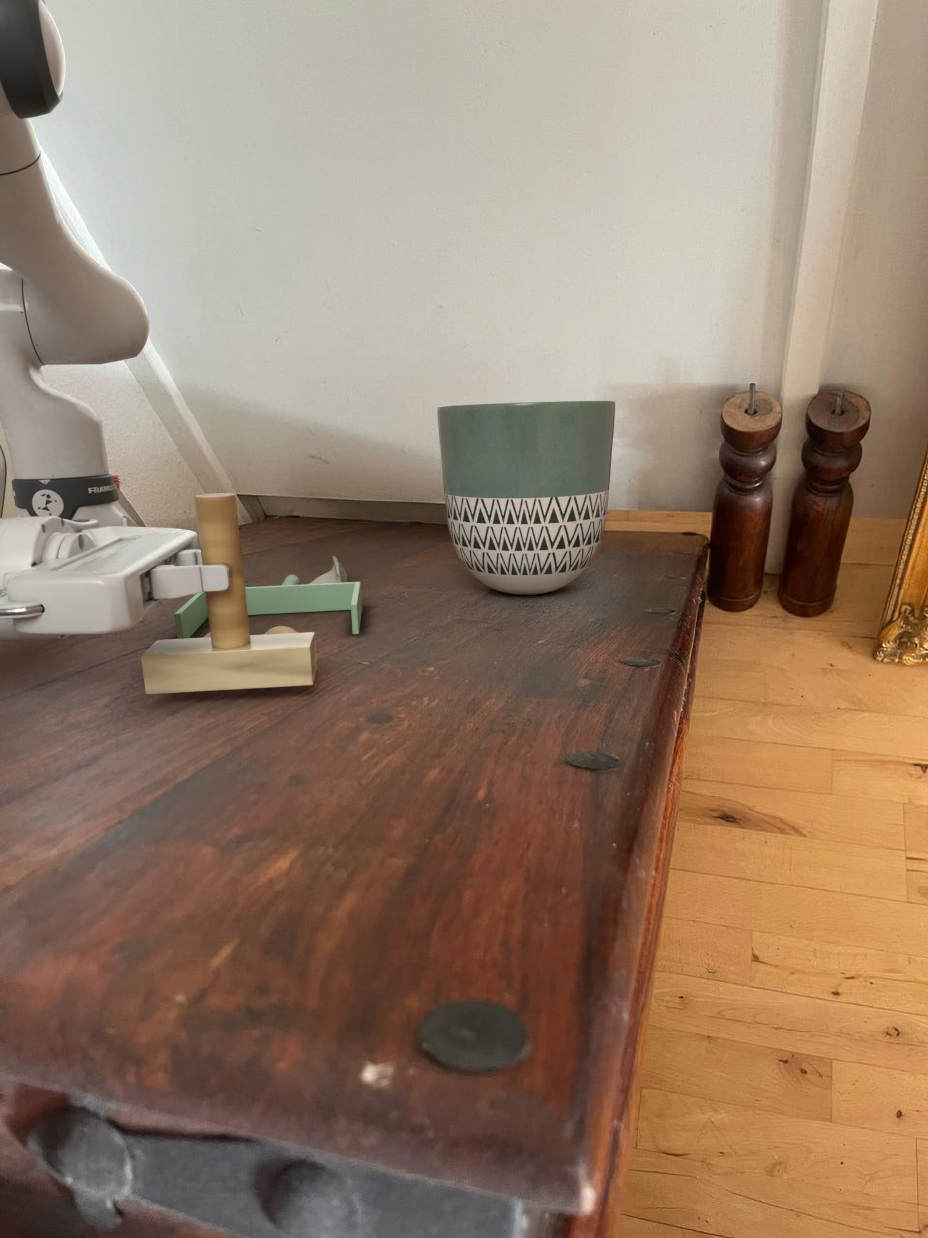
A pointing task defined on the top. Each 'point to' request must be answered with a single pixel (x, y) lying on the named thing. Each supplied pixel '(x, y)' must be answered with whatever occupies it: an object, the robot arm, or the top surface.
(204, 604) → the dustpan
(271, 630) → the cork ball
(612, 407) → the planter
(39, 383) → the robot arm
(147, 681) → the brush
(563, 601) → the top surface
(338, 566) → the ceramic fragment
